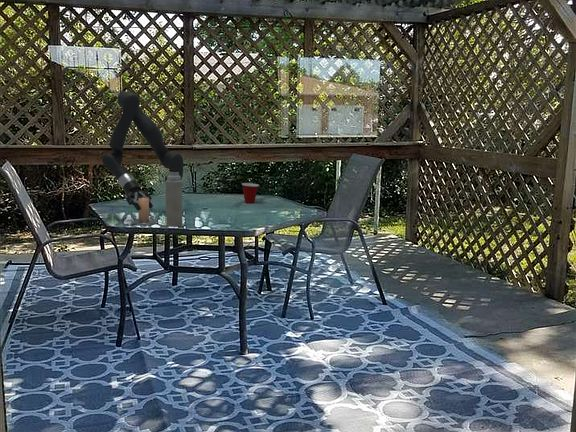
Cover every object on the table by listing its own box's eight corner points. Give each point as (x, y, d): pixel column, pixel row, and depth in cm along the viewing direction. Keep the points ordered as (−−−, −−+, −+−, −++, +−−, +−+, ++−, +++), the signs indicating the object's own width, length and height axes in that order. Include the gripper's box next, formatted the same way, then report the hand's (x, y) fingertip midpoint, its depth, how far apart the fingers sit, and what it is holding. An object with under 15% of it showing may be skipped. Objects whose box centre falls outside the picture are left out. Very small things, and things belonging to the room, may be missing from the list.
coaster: (154, 220, 321) (154, 219, 321) (157, 224, 310) (157, 223, 310) (130, 221, 317) (130, 220, 317) (132, 225, 306) (132, 224, 306)
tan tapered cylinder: (148, 220, 317) (148, 197, 315) (149, 222, 312) (149, 198, 310) (138, 220, 315) (137, 197, 313) (139, 222, 310) (138, 199, 308)
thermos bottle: (167, 223, 314) (166, 168, 309) (183, 223, 314) (183, 168, 309) (165, 226, 306) (164, 170, 301) (181, 226, 306) (180, 170, 301)
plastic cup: (258, 204, 379) (258, 185, 377) (240, 204, 379) (240, 184, 377) (259, 201, 390) (259, 182, 388) (242, 201, 390) (242, 182, 388)
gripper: (135, 187, 323) (151, 211, 320) (114, 190, 311) (131, 215, 308) (142, 178, 320) (159, 202, 316) (121, 180, 308) (139, 205, 304)
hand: (145, 208), depth 312 cm, fingers open, 8 cm apart
